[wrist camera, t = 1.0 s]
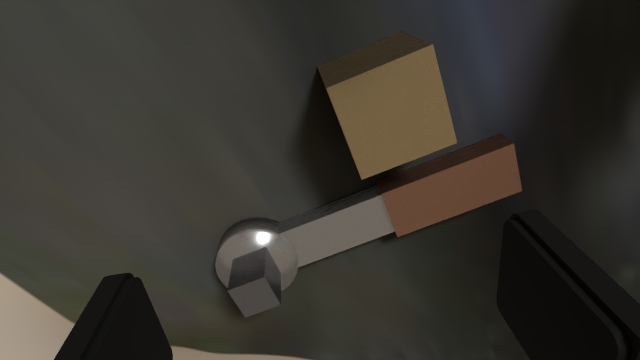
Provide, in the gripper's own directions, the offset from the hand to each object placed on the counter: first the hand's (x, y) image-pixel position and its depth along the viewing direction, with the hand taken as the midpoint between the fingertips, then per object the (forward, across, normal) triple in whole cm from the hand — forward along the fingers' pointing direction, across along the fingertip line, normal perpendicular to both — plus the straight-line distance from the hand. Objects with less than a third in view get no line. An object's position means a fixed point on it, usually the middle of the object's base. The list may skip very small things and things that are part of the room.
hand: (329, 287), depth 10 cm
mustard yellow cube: (+19, -5, 0) cm, 20 cm away
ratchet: (+19, -2, +10) cm, 22 cm away
